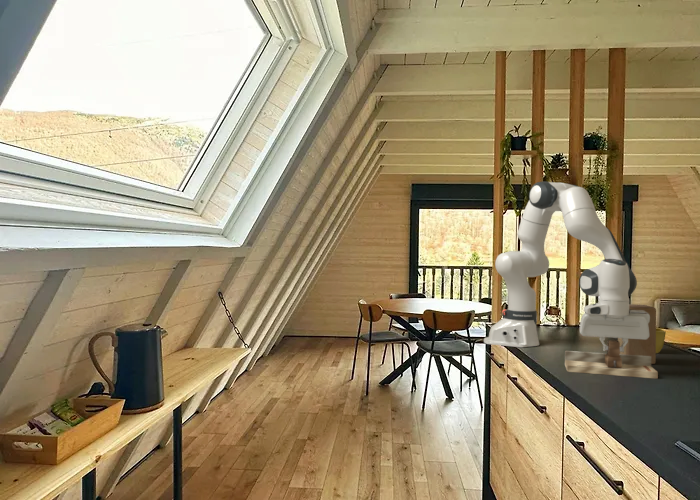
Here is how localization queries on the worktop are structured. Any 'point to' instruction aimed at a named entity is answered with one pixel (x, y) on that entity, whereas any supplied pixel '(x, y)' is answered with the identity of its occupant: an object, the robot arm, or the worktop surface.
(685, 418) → the worktop surface
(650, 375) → the board
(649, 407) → the worktop surface
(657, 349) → the flower pot
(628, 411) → the worktop surface
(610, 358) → the marking gauge
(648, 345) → the wooden block
